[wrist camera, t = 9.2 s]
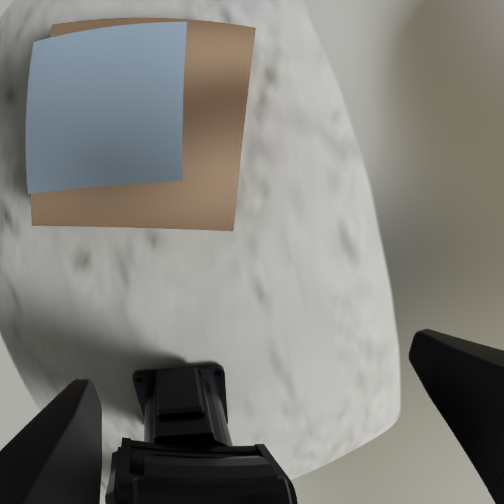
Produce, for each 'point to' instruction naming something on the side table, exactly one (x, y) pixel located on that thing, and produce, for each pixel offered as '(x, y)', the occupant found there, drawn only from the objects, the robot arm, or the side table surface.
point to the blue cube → (106, 107)
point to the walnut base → (193, 142)
